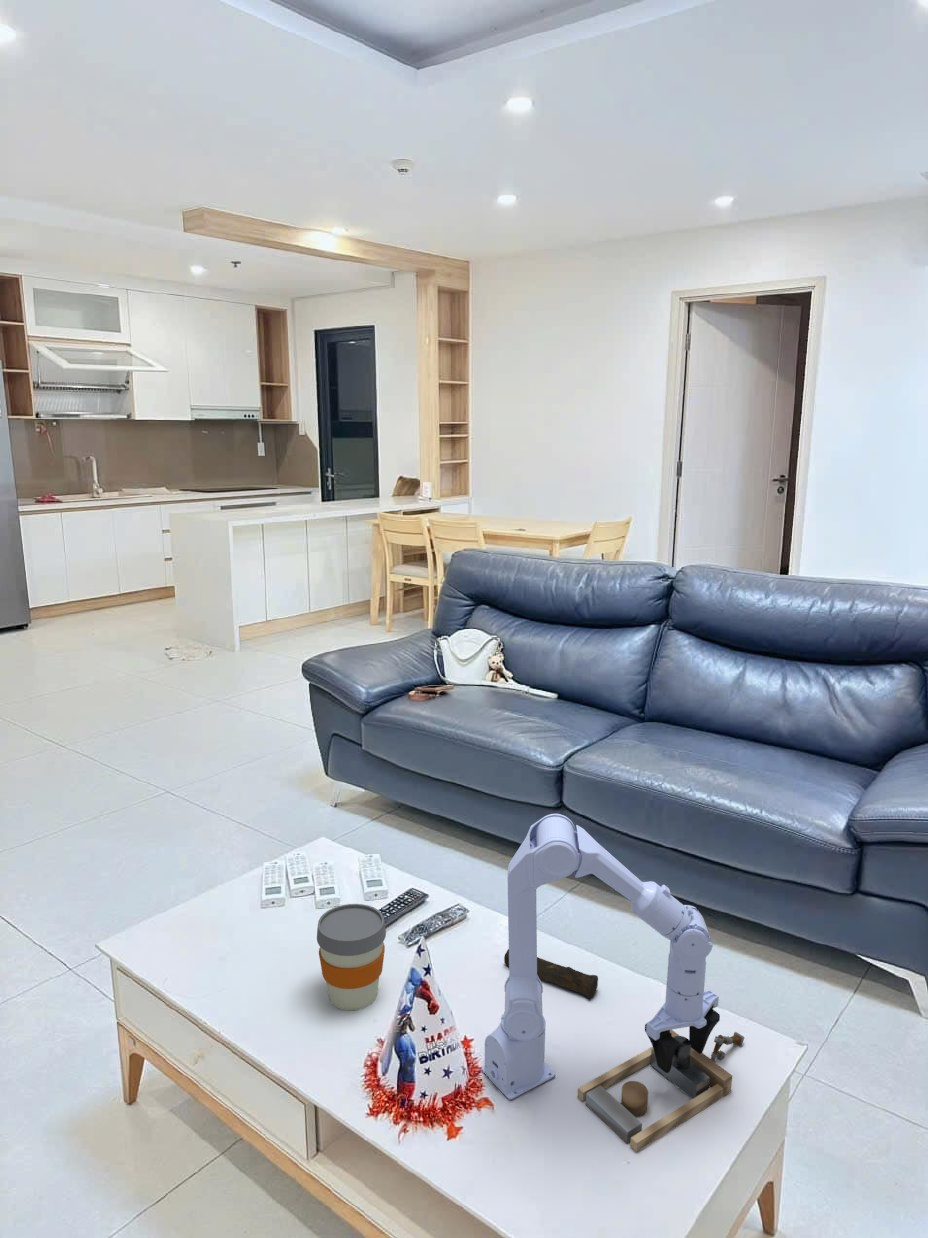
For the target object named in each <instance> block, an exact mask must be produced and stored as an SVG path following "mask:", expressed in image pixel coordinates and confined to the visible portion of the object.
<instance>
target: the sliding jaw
mask: <svg viewBox="0 0 928 1238" xmlns="http://www.w3.org/2000/svg"><path fill="white" fill-rule="evenodd" d="M673 1038H675V1039H676V1040H677V1041H678V1042H680V1043H679V1044H678V1045H677V1047H676V1049H675V1051H674V1055H673V1059H672V1066H671V1070H670V1072H668V1073H665V1072H664V1071H663V1070H662V1069H660V1068H659V1067H658V1066H657V1061H656V1056H655V1052H654V1049H653V1048H652V1049H651V1063H650V1064H649V1065H650V1066H651V1067H652V1068H654V1069H655V1070H656V1071H657V1072H659V1073H660V1074H661V1075H662V1076H664V1077H665V1078H666V1079H667V1080H668V1081H669V1082H671V1084H673V1085H674V1086H676V1087H677V1088H678V1089H680V1091H682V1092H683V1093H684V1094H685V1095H687V1096H688V1097H689V1098H690V1099H691V1100H692V1099H694V1098H695V1097H697V1096H698V1095H700V1094H702V1093H703V1092H705V1091H706V1090H708V1089H710V1087H709V1080H710V1077H709V1076H707V1075H706V1074H705V1073H704V1072H702V1071H701V1070H700V1069H698V1068H697V1067H696V1066H695V1065H693V1064H692V1063H691V1062H690V1051H691V1042H690V1040H689V1038H687V1037H686V1036H682V1035H680V1036H675V1037H673Z"/></svg>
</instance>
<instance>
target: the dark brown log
mask: <svg viewBox="0 0 928 1238" xmlns="http://www.w3.org/2000/svg"><path fill="white" fill-rule="evenodd" d="M504 965H505V966H507V967H508V968H509V948H508V949H507V950H506V953H504ZM537 975H538V977H539V979H540V980H544V981H545V982H550V983H553V984H555V985H558V986H560V987H562V988H567V989H569V990H571V991H574V992H577V993H580V994H581V995H582V994H583V995H585V996H587V998H588V1000H589V1001H591V1000H592V999H593V998H594V996H595V994H596V992H597V988H598V985H599V977H598V975H596V974H587V973H584V972H581V971H579V970H576V969H573V967H570V966H564V965H560V964H558V963H554V962H551V961H549V960H546V959H543V958H541V957H538V956H537Z"/></svg>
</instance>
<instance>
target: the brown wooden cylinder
mask: <svg viewBox="0 0 928 1238" xmlns="http://www.w3.org/2000/svg"><path fill="white" fill-rule="evenodd" d="M620 1098H621V1099H620V1100H621V1101H620V1102H621V1103H620V1104H621V1105H623V1106H624V1107H625V1108H626V1109H627V1110H628V1111H629V1112H630V1113H631V1114H632V1115H634V1116H635V1117H636V1118H637V1117H643V1116H644V1115H645V1114H647V1112H648V1104H649V1102H648V1101H649V1089H648V1088H647V1086H646V1085H645V1084H643V1082H640V1081H637V1080H629V1081H626V1082H624V1083H623V1085H622V1086H621V1097H620Z"/></svg>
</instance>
